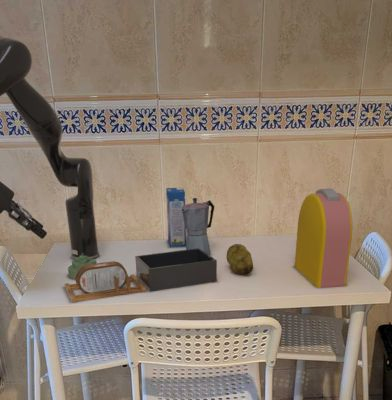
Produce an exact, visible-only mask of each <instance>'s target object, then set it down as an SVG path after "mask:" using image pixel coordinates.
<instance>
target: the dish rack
mask: <svg viewBox="0 0 392 400" xmlns="http://www.w3.org/2000/svg"><path fill="white" fill-rule="evenodd" d="M125 276H126V283H125V286H126V287H124V288H123V287H122V288H120V289H119V285H118V278H116V276H114V286H115V290H108V291H101V292H95V293H81V294H74V291H75V290H81V289H80V288H79V287H78V286H77V284H76V283H72V284H71V283H68V282H67V283H64V284H63V285H64V288H65V290H66V293H67V295H68V296H69V299H70V301H71V303H76V302H82V301H83V302H84V301H88V300H95V299H96V300H97V299H101V298H109V297H115V296H116V297H117V296H123V295H129V294H137V293H145V292H147V288H146V286H145V285H144V284H143V283H142V282H141V281H140V280H139V279H138V278H137V275H135V274H133V273H132V274H130V275H129V274H128V273H127V274H126V275H125ZM131 282H133V283H134V284H135V286H131Z"/></svg>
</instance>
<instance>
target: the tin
mask: <svg viewBox="0 0 392 400" xmlns="http://www.w3.org/2000/svg"><path fill="white" fill-rule="evenodd" d="M126 274H128V272H127V270H126V268H125V267H124V266H123V264H122V263H120V262H118V261H115V260H112V261H104V262H97V263H96V264H88V265H85V266H83V267H81V268H80V269H79V270H78V272H77V274H76V278H75V279H74V280H75V284H77V286H78V287H79V288H80V289H79V290H80V291H82V292H83V293H84V294H88V293H95V292H101V291H108V290H115V286H114V276H116V278H118V285H119V289H122V288H123V287H124V286H125V285H126V276H125V275H126Z"/></svg>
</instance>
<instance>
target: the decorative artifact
mask: <svg viewBox="0 0 392 400" xmlns="http://www.w3.org/2000/svg"><path fill="white" fill-rule="evenodd" d="M96 263H98V262H97V260H96V259H90V257H87V256H83V253H82V255H81V256H79V258H76V259H72V260H71V265H69V266H68V267H67V271H68V277H69V278H70V279H72V280H76V279H75V278H76V274H77V272H78V270H79V269H80V268H81V267H83V266H85V265H88V264H96Z"/></svg>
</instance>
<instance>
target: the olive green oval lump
mask: <svg viewBox="0 0 392 400" xmlns="http://www.w3.org/2000/svg"><path fill="white" fill-rule="evenodd" d="M226 261H227V263H228V265H229V268H230V270H231V271H232V273H234V274H236V275H239V276H248V275H249V274H252V272H253V270H254V263H253V262H254V261H253V258H252V254H251V252H250V251H249V250H248V249H247V247H246V246H245V245H243V244H241V243H235V244H232V245H231V246H229V247H228V248H227V251H226Z"/></svg>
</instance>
